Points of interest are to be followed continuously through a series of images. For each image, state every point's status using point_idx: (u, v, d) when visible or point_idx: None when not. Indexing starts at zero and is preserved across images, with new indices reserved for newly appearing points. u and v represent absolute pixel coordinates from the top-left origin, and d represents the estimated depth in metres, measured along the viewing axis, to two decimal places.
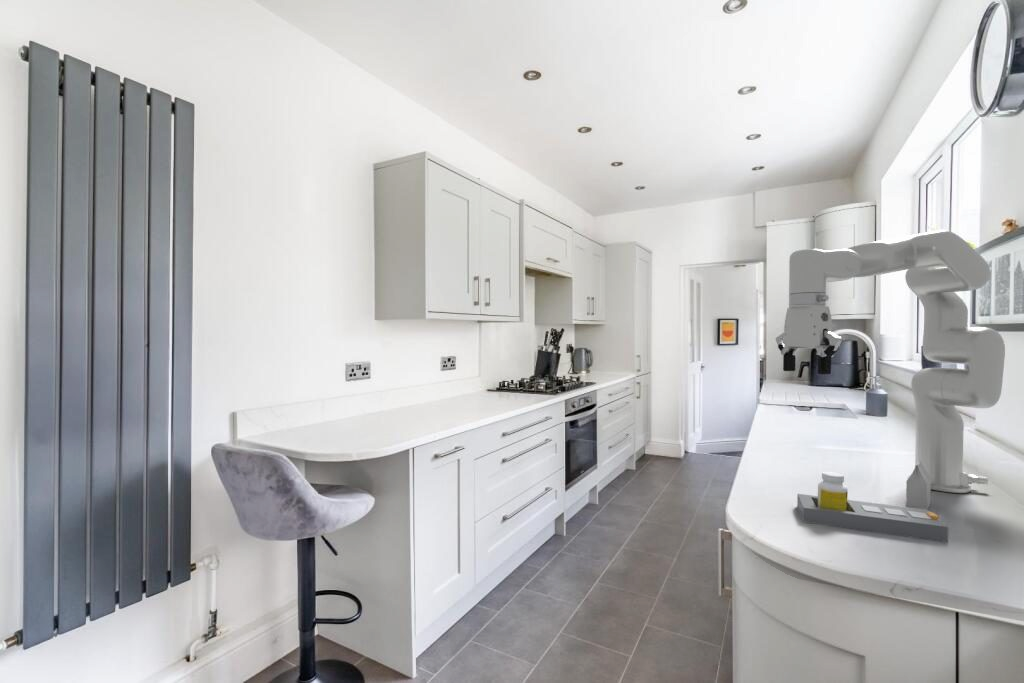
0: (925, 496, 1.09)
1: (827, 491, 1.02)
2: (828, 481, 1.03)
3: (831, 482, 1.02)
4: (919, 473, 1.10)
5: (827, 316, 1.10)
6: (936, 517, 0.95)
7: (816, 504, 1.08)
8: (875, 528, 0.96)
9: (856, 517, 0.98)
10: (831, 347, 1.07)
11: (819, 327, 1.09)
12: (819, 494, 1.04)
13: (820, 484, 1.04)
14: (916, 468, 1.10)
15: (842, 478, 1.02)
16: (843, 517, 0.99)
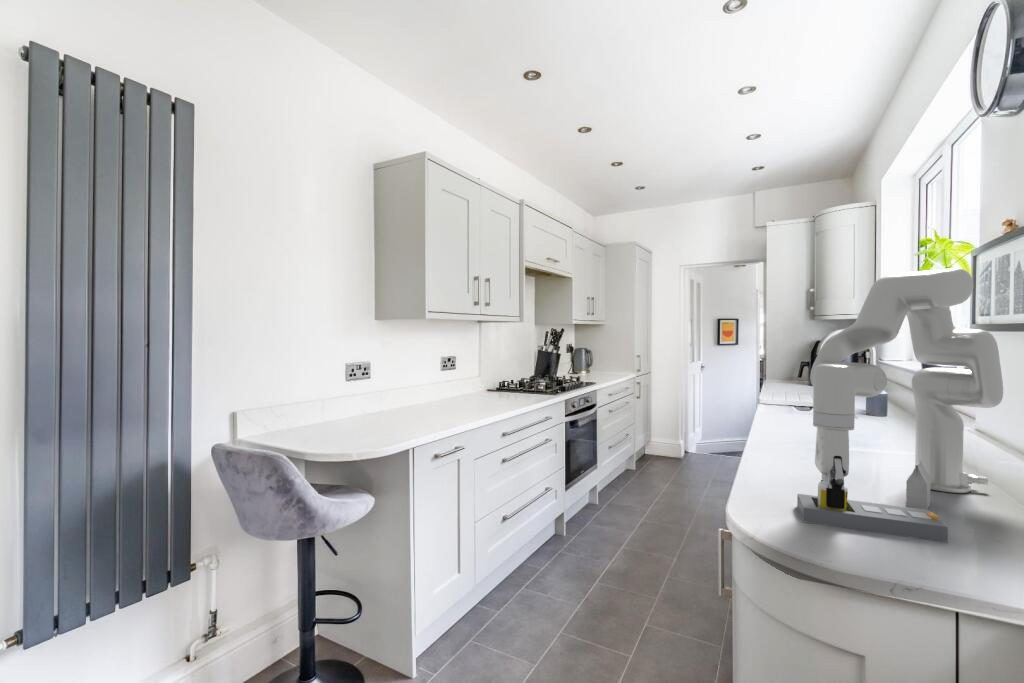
0: (925, 496, 1.09)
1: None
2: None
3: None
4: (919, 473, 1.10)
5: None
6: (936, 517, 0.95)
7: (816, 504, 1.08)
8: (875, 528, 0.96)
9: (856, 517, 0.98)
10: None
11: None
12: (819, 494, 1.04)
13: (820, 484, 1.04)
14: (916, 468, 1.10)
15: None
16: (843, 517, 0.99)
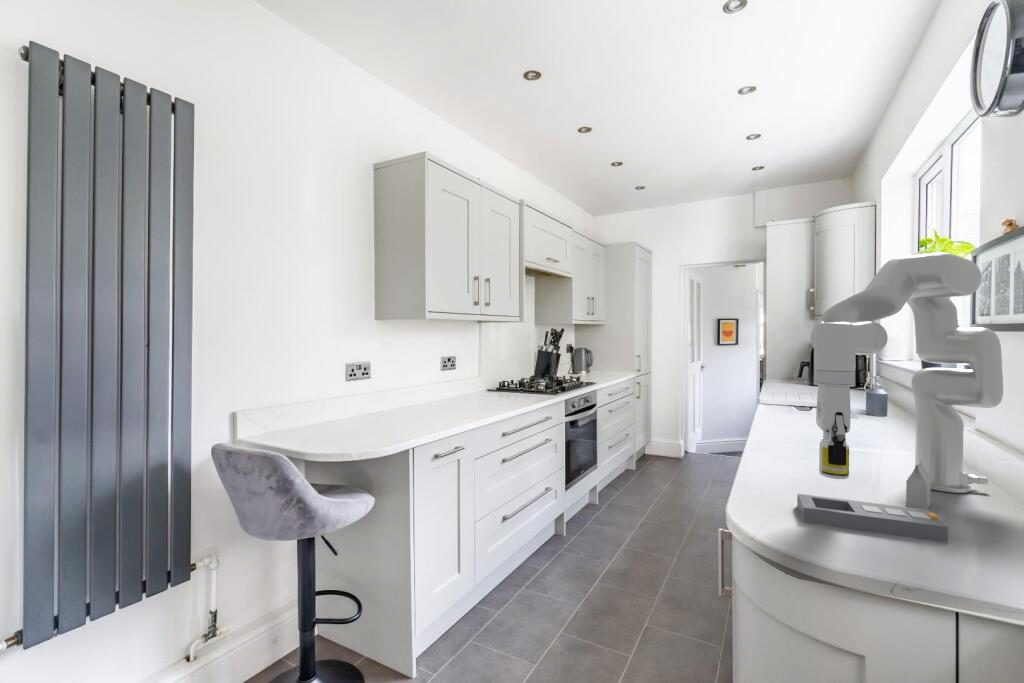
0: (925, 496, 1.09)
1: None
2: None
3: None
4: (919, 473, 1.10)
5: None
6: (936, 517, 0.95)
7: (816, 504, 1.08)
8: (875, 528, 0.96)
9: (856, 517, 0.98)
10: None
11: None
12: (821, 452, 1.04)
13: (822, 442, 1.04)
14: (916, 468, 1.10)
15: None
16: (843, 517, 0.99)
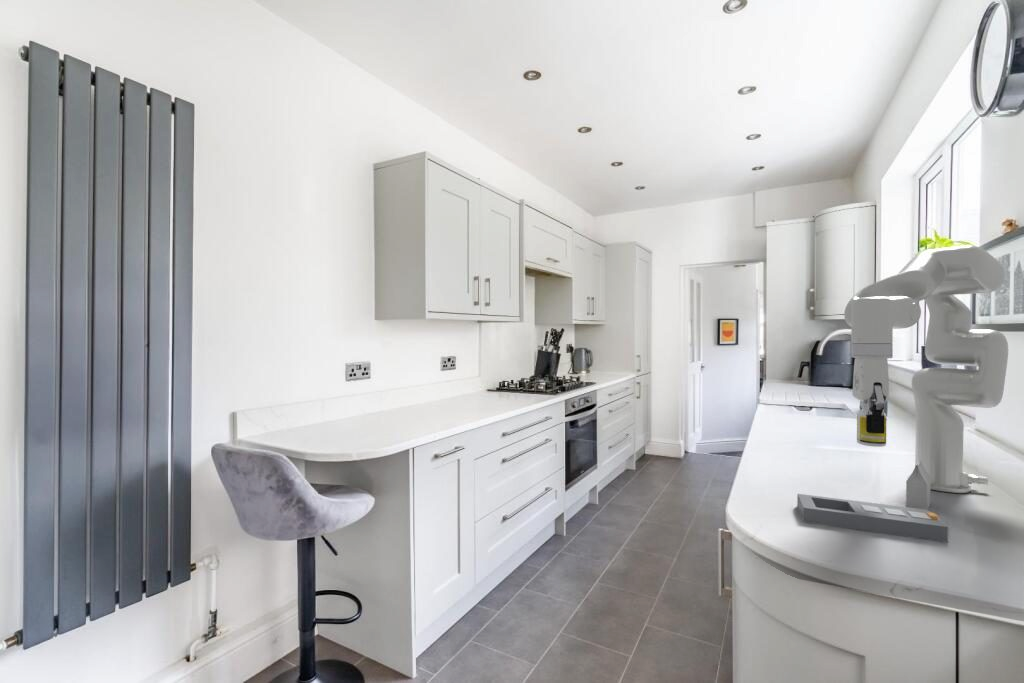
0: (925, 496, 1.09)
1: None
2: (867, 409, 1.07)
3: None
4: (919, 473, 1.10)
5: None
6: (936, 517, 0.95)
7: (816, 504, 1.08)
8: (875, 528, 0.96)
9: (856, 517, 0.98)
10: None
11: None
12: (858, 422, 1.09)
13: (859, 412, 1.09)
14: (916, 468, 1.10)
15: None
16: (843, 517, 0.99)
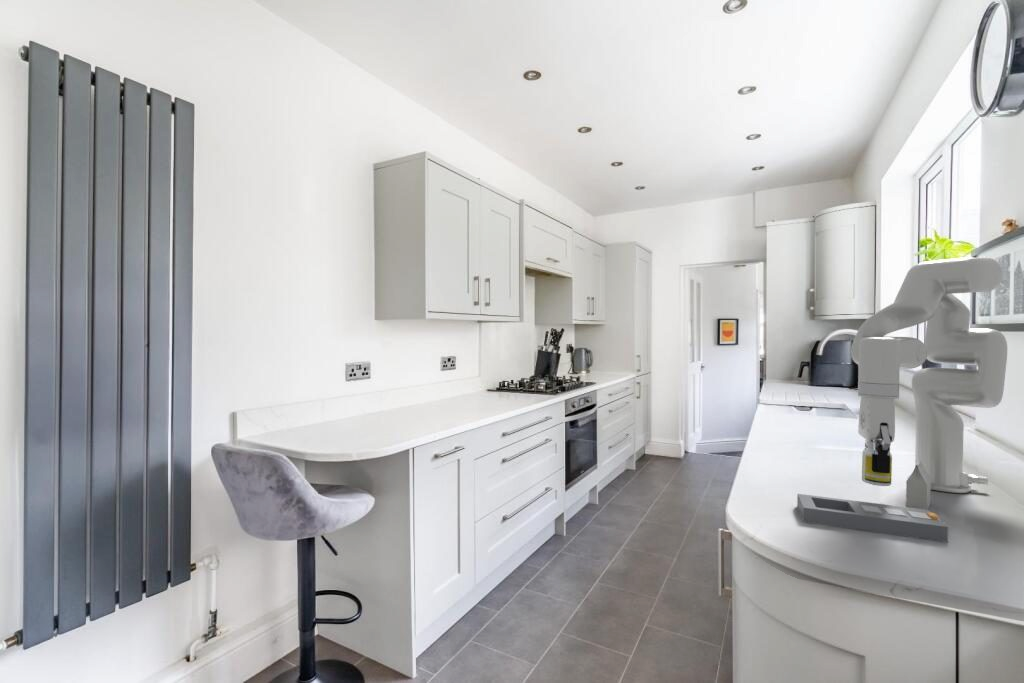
0: (925, 496, 1.09)
1: None
2: None
3: None
4: (919, 473, 1.10)
5: None
6: (936, 517, 0.95)
7: (816, 504, 1.08)
8: (875, 528, 0.96)
9: (856, 517, 0.98)
10: None
11: None
12: (864, 460, 1.09)
13: (865, 451, 1.09)
14: (916, 468, 1.10)
15: None
16: (843, 517, 0.99)
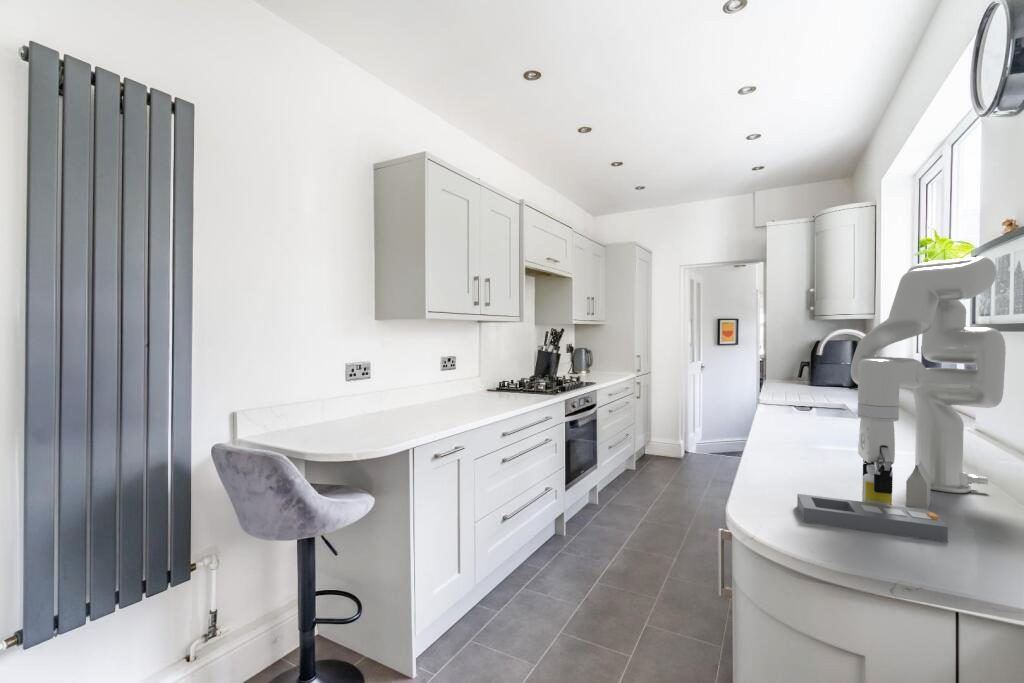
0: (925, 496, 1.09)
1: (873, 483, 1.08)
2: (873, 473, 1.08)
3: None
4: (919, 473, 1.10)
5: None
6: (936, 517, 0.95)
7: (816, 504, 1.08)
8: (875, 528, 0.96)
9: (856, 517, 0.98)
10: None
11: None
12: (864, 486, 1.10)
13: (865, 476, 1.10)
14: (916, 468, 1.10)
15: None
16: (843, 517, 0.99)
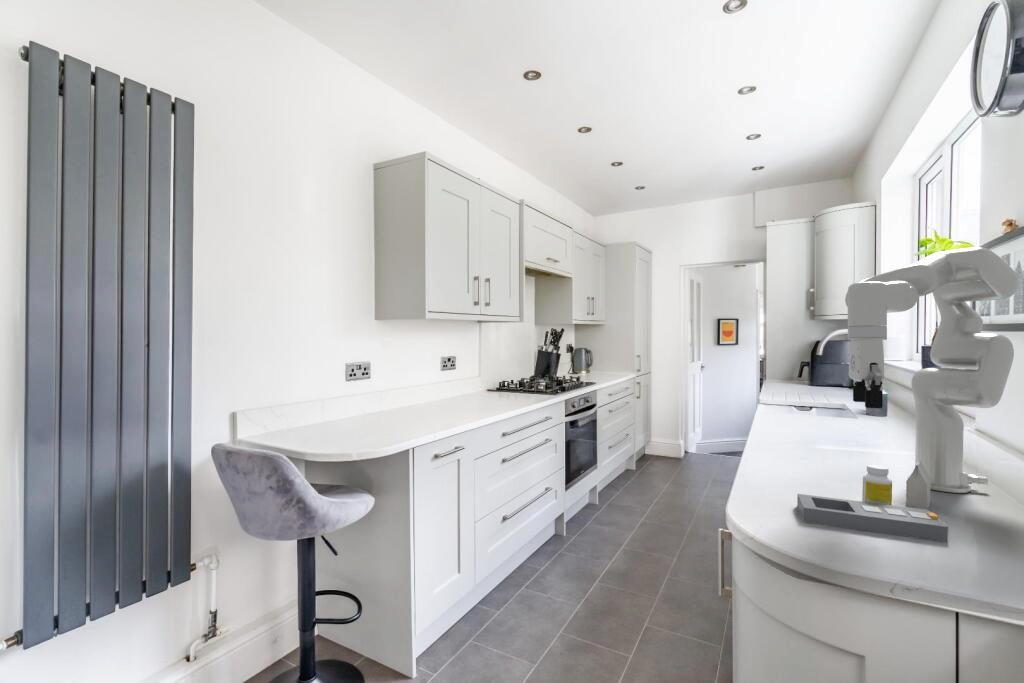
0: (925, 496, 1.09)
1: (873, 483, 1.08)
2: (873, 474, 1.08)
3: (876, 475, 1.08)
4: (919, 473, 1.10)
5: None
6: (936, 517, 0.95)
7: (816, 504, 1.08)
8: (875, 528, 0.96)
9: (856, 517, 0.98)
10: None
11: None
12: (864, 486, 1.10)
13: (865, 476, 1.10)
14: (916, 468, 1.10)
15: (887, 471, 1.08)
16: (843, 517, 0.99)
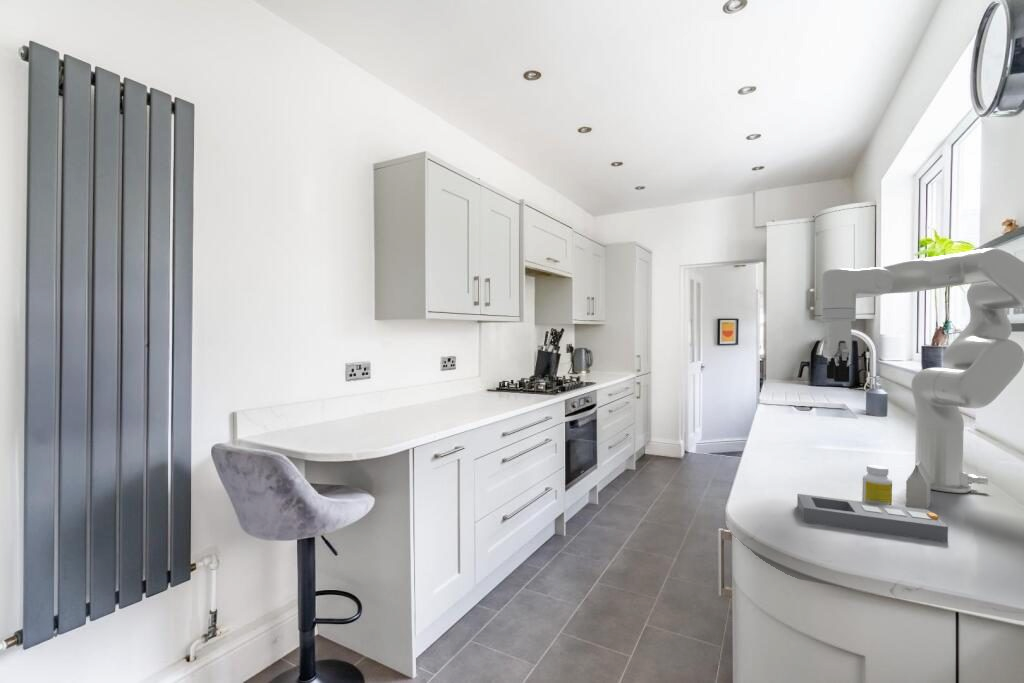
0: (925, 496, 1.09)
1: (873, 483, 1.08)
2: (873, 473, 1.08)
3: (876, 475, 1.08)
4: (919, 473, 1.10)
5: None
6: (936, 517, 0.95)
7: (816, 504, 1.08)
8: (875, 528, 0.96)
9: (856, 517, 0.98)
10: None
11: None
12: (864, 486, 1.10)
13: (865, 476, 1.10)
14: (916, 468, 1.10)
15: (887, 471, 1.08)
16: (843, 517, 0.99)
